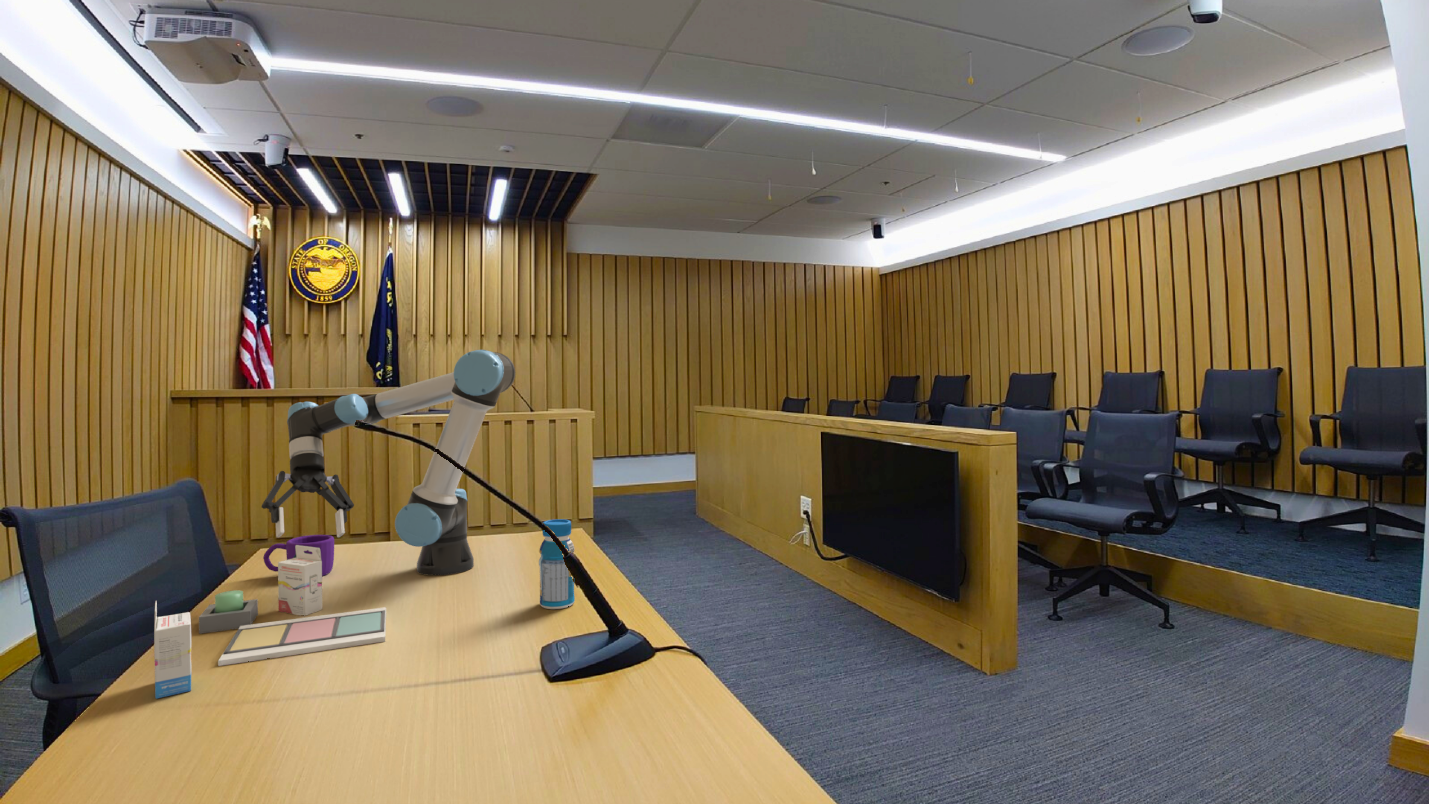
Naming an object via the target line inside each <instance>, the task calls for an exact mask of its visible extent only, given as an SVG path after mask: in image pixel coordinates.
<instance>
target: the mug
mask: <svg viewBox="0 0 1429 804" xmlns="http://www.w3.org/2000/svg"><path fill="white" fill-rule="evenodd" d="M296 545H299V546H308V547H315V548H320V551H321V561H322V577H324V576H326V575H329V574H330V573H331V572H332V570H333V568H334V561H335V537H334V536H332V535H328V534H312V535H311V534H309V535H303V536H298V537H294V538H292V539H289V540H287V541H286V543H275V544H272V545H271V546H270V547H268V549H267V550H266V551H265V553H264V554H263V558H262V559H263V563H264V564H265V566H266V568H267V569H268V570H270V571H271V572H277V573H278V566H275V565H274V564H273V563H272V561H271V560H270V556H271V555H272V553H274V551H276V550H279V549H280V550H286V551H285V555H286V560H288V559H292V558H296V549H295V546H296ZM304 553H306V554H312V552H310V551H309V550H307V551H304Z"/></svg>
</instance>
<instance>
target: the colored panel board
mask: <svg viewBox="0 0 1429 804" xmlns="http://www.w3.org/2000/svg"><path fill="white" fill-rule="evenodd" d="M386 622H387V607H384V606H383V607H375V608H370V609H362V610H361V609H360V610H353V611H346V612H338V613H330V614H323V615H316V616H315V615H314V616H305V617H300V618H293V619H292V618H291V619H290V618H289V619H283V620H276V621H269V622H262V623H252V624H251V625H243V626H240V627H239V629H237V631H236V632H235V633H234V635H233V637H232V638H231V640H230V641H229V644H228V645H227V646H226V648H225V649H224V651H223V652H222V653H221V656H220V657H219V659H218V661H217V665H218V667H222V666H227V665H235V664H242V663H248V661H249V662H257V661H262V660H268V659H267V658H270V659H275V658H282V657H289V656H295V655H301V654H302V655H303V654H308V653H310V654H311V653H315V652H322V651H329V650H335V649H336V650H337V649H343V648H349V647H356V646H357V647H358V646H364V645H370V644H375V643H376V644H377V643H383V642H386V632H387V630H386V629H387V628H386V627H387V626H386V625H387V623H386Z"/></svg>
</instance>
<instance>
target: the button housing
mask: <svg viewBox="0 0 1429 804" xmlns="http://www.w3.org/2000/svg"><path fill="white" fill-rule="evenodd" d="M256 616H257V617H258V616H259V600H258V598H255V599H248V600H247V599H246V600H243V610H239V611H231V612H223V613H215V603H213V604H212V603H211V604H209V605H208V606H207V607H206V608H205V609H204V611H203V612H202V613H201V614H200V615H199V616H198V634H200V635H201V634H207V633H215V632H224V631H231V630H230V629H232V630H238V629H239V627H240V626H243V625H251V624H254V622H255V620H256V618H257V617H256ZM253 621H254V622H253Z"/></svg>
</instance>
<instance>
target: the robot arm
mask: <svg viewBox="0 0 1429 804" xmlns="http://www.w3.org/2000/svg"><path fill="white" fill-rule="evenodd" d="M515 378H516V367H515V365H514V363H513V361H512V360H511V359H510V357H508V356H506V355H505V354H503V353H500V352H497V351H490V350H487V349H475V350H471V351H468V352H466V353H465V354H463V355H461V357H459V358H458V360H457V361H456V363H455V365H454V368H453V371H452V372H450V373H446V374H442V375H439V376H436V377H435V376H434V377H432V378H428V379H424V380H421V381H418V382H414V383H410V384H408V385H404V386H400V387H396V388H393V389H392V388H391V389H390V390H385V391H382V392H379V393H376V394H375V393H374V394H372V395H367V396H363V397H362V396H360V395H359V394H357V393H351V394H348V395H342V396H340V397H338V398H336V399H334V400H333V399H332V400H331V401H328V402H325V403H323V404H320V405H319V404H317V403H315V402H313V401H304V402H301V401H300V402H299V401H298V402H296V403H293V404H292V405H291V406H289V408H288V411H287V421H286V423H287V428H288V429H287V432H288V449H289V452H288V453H289V454H288V455H289V459H290V460H289V471H290V473H286V472H285V470H281V471H279V472H278V474H277V475H275V480H274V481H275V482H274V485H273V486H272V487H271V489H270V491H269V492H268V494H267V496H266V498H265V500H264V501H263V503H261V508H262V509H263V510H264V509H268V512H269V513H270V522H271V523H273V524H275V537H276V538H281V537H282V535H284V534H285V518H284V515H285V514H284V507H282V504H284V503H285V502H286V501H287V500H288V499H289V498H290V497H291V496H292V495H293V494H294V493H295V492H296V491H298V492H300V493H313V494H314V493H316V494H318V495H319V496H321V497H322V498H323V499H324V500H325V501H326V502H327V503H328V504H329V505H330V506H332V507H333V509H335V510H336V512H335V513H334V516H335V517H334V518H335V529H336V538H341V537H343V535H344V534H346V531H345V523H346V522H348V514H347V512H349V511H350V510H352V509H353V508H354V506H355V504H354V502H353V501H352V499H351V497H350V496H349V494H348V492H347V491H346V490H345V488H344V486H343V485H342V484H341V481H340V478H339V475H338V474H334V475H333V476H327V475H326V472H325V458H324V444H323V443H324V442H323V435H325V434H328V433H331V432H334V431H337V430H341V429H342V428H345V427H353V426H354V427H355V426H356V425H355V422H356V420H363V421H364V422H367V423H371V424H370V425H374V424H376V423H378V422H381V421H382V420H383V421H385V420H386V419H389V418H394V417H396V416H400V415H404V414H409V413H411V412H415V411H419V410H422V409H427V408H429V407H433V406H436V405H440V404H444V403H447V402H451V401H453V403H452V406H451V408H450V411H449V414H448V416H447V419H446V421H445V424H444V426H443V428H442V431H441V434H440V436H439V438H438V441H437V444H436V446H435V449H439V450H440V451H441V452H443V453H444V454H446V455H448V456H449V457H451V458H452V459H453V460H455V461H456V462H457V463H459V464H460V465H461V466H463V467H466V466H467V463H468V460H469V458H470V455H471V452H472V450H473V448H474V445H475V443H476V440H477V437H478V434H479V432H480V430H481V427H482V424H483V422H484V419H485V416H486V414H487V412H488V411H490V410H492V409H495V407H496V405H497V402H498V400H499V397H500V395H501V393H503V392H506V391H508V390H509V389H510V387H511V386H512V385H513V384H514V382H515ZM463 473H464V471H463V472H462V471H461V470H460V469H457V467H455V466H454V465H453V464H452V463H450V462H449V461H448V460H446V459H444V458H443V457H441V456H440V455H439V454H437V452H433V454H432V456H431V459H430V461H429V465H428V467H427V470H426V472H425V475H424V477H423V480H422V482H421V484H419V485H417V486H414V487H413V489H412V491H411V493H410V496H409V499H408V501H407V503H406V505H404V506H402V508H401V509H400V510H399V511H398V513H397V514H396V516H395V520H394V528H395V531H396V533H397V535H398V538H400V540H401V541H403V543H405V544H407V545H409V546H412V547H418V548H419V547H421V550H420V552H419V556H418V559H417V562H416V573H418V574H421V575H424V576H446V575H447V576H448V575H453V574H459V573H463V572H466V571H469V570H470V569H472V568H474V564H475V563H474V556H473V553H472V551H471V550H472V549H471V547H470V545H469V542H468V497H467V492H466V490H465V489H464V488H458V485H459V482H460V480H461V478H462V475H463ZM287 480H288V481H289V482H290V483H291V484H292V486H291V487H290V488H289V489H288V490H287V491H286V492H285V493H284V494H282V495H281V496H280V498H278V499H277V500H276V501H275V502H273V500H274V499H275V497H276V495H277V493H278V492H279V490H280V489H281V488H282V485H283V484H284V483H286V481H287ZM327 484H328V485H327ZM329 486H330V487H329ZM330 488H331V489H332V490H331V489H330Z"/></svg>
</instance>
